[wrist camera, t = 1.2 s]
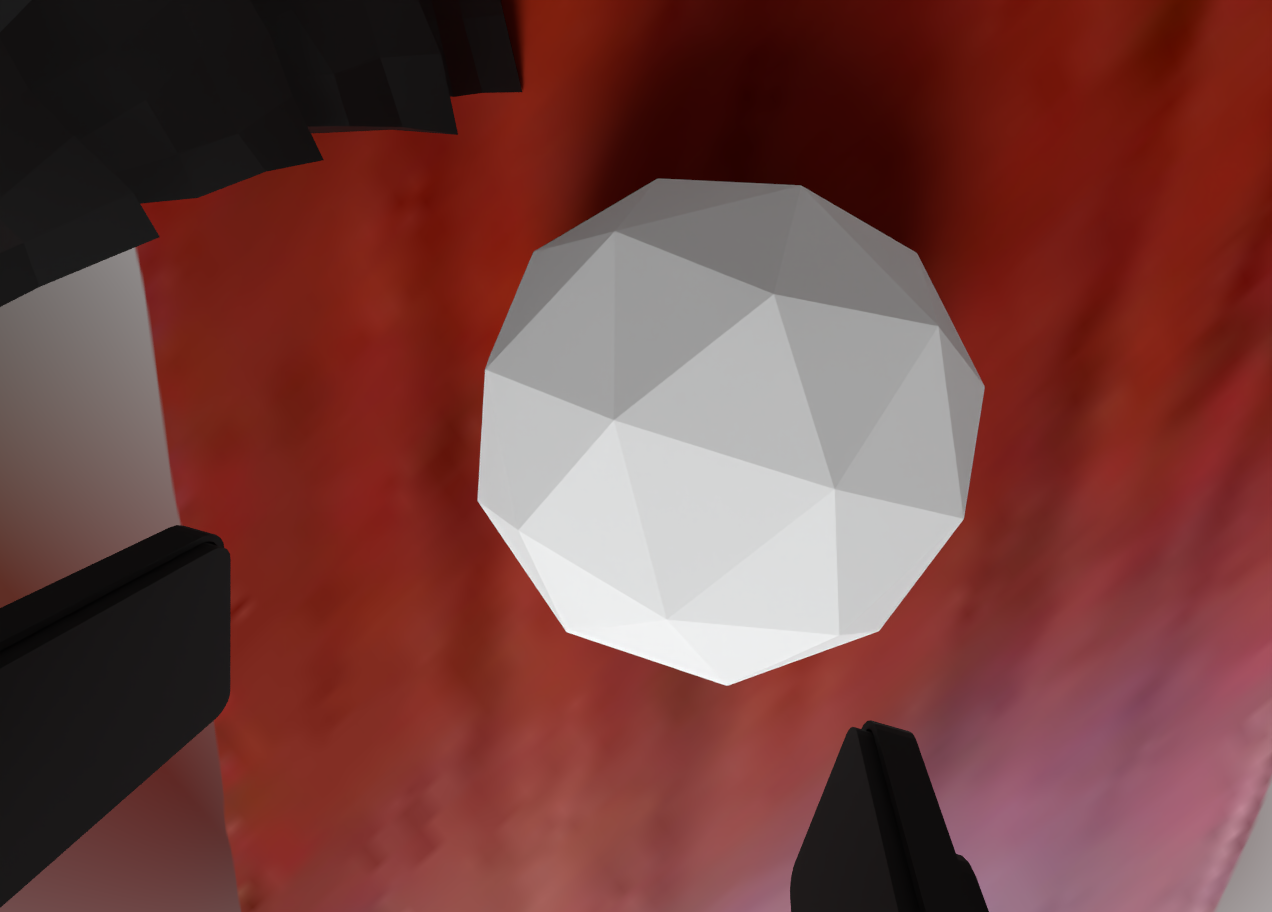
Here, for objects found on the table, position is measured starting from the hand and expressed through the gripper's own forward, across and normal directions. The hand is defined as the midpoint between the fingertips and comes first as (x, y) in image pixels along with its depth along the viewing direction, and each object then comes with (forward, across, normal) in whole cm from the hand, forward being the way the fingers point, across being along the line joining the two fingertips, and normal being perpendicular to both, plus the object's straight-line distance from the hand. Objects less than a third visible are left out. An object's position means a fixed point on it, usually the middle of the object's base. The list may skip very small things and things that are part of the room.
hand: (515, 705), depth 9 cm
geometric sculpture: (+28, -2, 0) cm, 28 cm away
